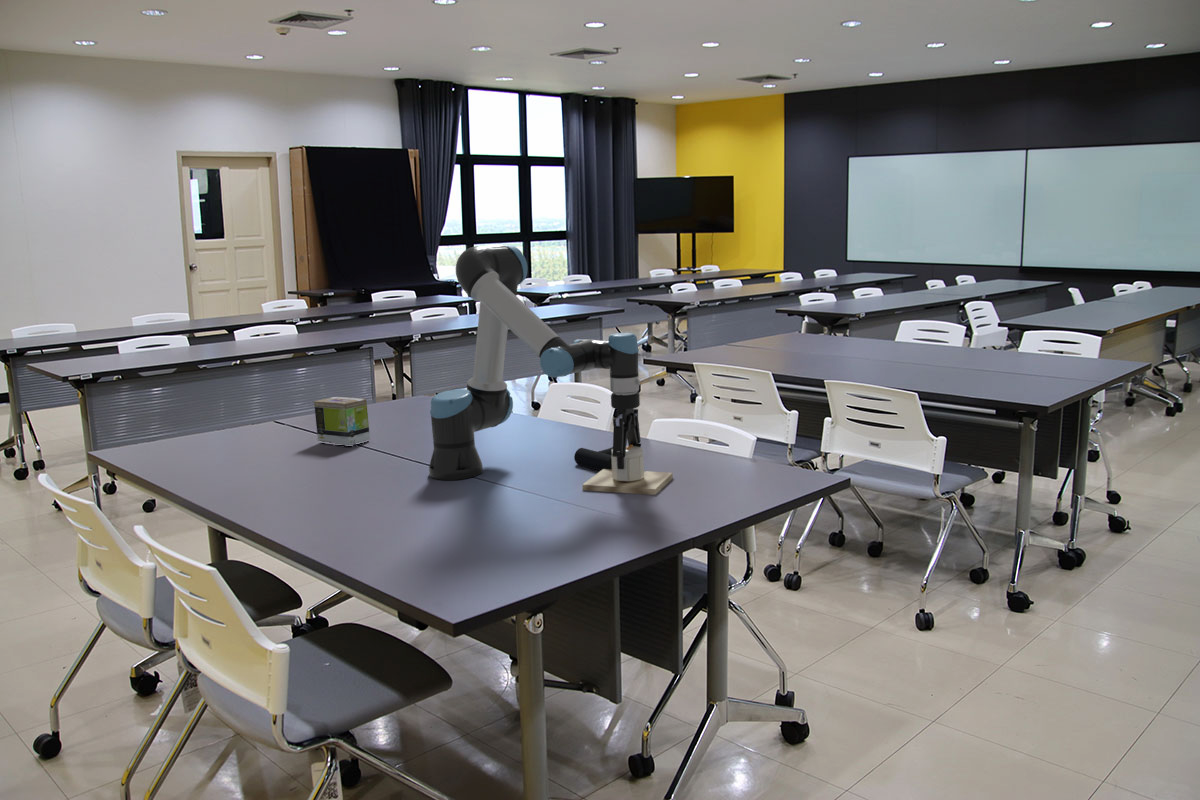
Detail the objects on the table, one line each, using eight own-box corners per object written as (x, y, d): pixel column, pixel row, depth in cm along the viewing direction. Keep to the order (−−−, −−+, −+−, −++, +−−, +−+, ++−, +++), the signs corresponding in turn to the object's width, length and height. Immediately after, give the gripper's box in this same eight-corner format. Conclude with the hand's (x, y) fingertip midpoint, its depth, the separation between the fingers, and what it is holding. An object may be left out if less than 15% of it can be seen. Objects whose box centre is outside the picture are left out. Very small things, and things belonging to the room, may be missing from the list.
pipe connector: (604, 441, 283) (637, 449, 272) (605, 458, 284) (638, 467, 273) (573, 449, 276) (607, 457, 264) (574, 466, 277) (608, 476, 266)
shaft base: (582, 490, 251) (581, 466, 250) (603, 474, 266) (602, 451, 265) (655, 494, 244) (654, 470, 243) (672, 478, 259) (672, 454, 258)
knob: (638, 482, 249) (637, 452, 248) (608, 480, 252) (606, 450, 251) (648, 473, 257) (647, 444, 256) (618, 472, 260) (617, 443, 258)
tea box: (371, 441, 318) (367, 398, 315) (348, 448, 310) (344, 403, 307) (339, 437, 326) (335, 395, 323) (316, 444, 318) (312, 400, 315)
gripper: (625, 400, 239) (628, 487, 243) (650, 385, 259) (653, 466, 263) (597, 399, 242) (600, 485, 246) (624, 384, 261) (627, 464, 266)
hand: (627, 475), depth 255 cm, fingers open, 8 cm apart
